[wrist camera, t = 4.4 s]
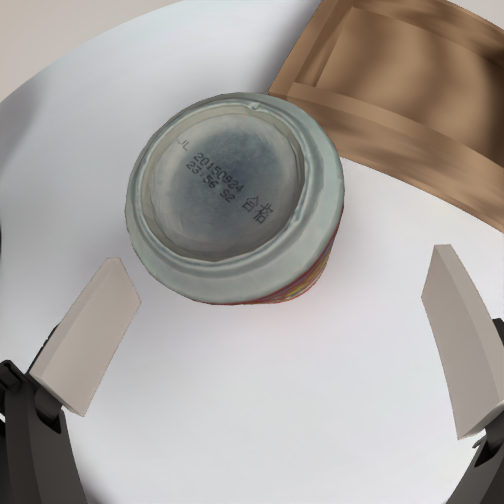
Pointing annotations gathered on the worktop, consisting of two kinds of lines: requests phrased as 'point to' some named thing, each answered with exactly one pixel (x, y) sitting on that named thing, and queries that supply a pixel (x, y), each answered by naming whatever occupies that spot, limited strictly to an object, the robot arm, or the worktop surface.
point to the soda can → (236, 201)
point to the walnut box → (408, 94)
